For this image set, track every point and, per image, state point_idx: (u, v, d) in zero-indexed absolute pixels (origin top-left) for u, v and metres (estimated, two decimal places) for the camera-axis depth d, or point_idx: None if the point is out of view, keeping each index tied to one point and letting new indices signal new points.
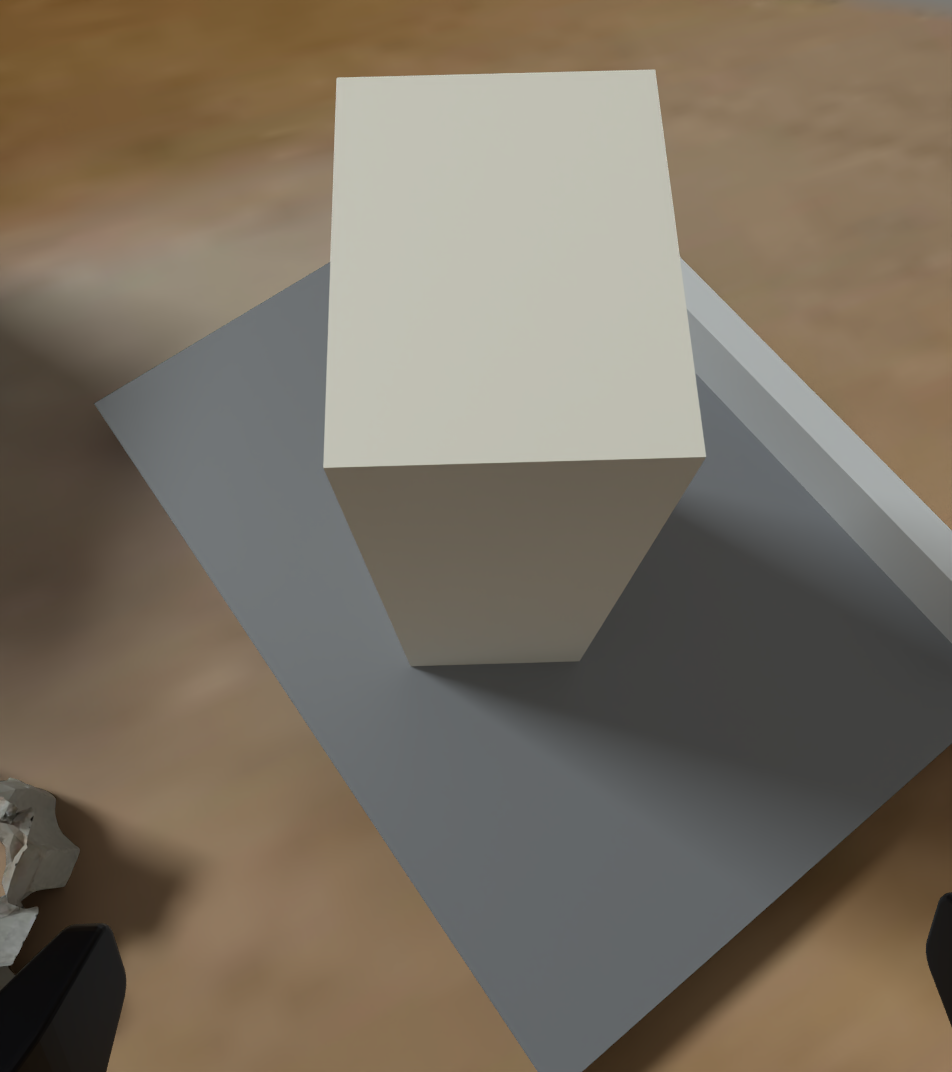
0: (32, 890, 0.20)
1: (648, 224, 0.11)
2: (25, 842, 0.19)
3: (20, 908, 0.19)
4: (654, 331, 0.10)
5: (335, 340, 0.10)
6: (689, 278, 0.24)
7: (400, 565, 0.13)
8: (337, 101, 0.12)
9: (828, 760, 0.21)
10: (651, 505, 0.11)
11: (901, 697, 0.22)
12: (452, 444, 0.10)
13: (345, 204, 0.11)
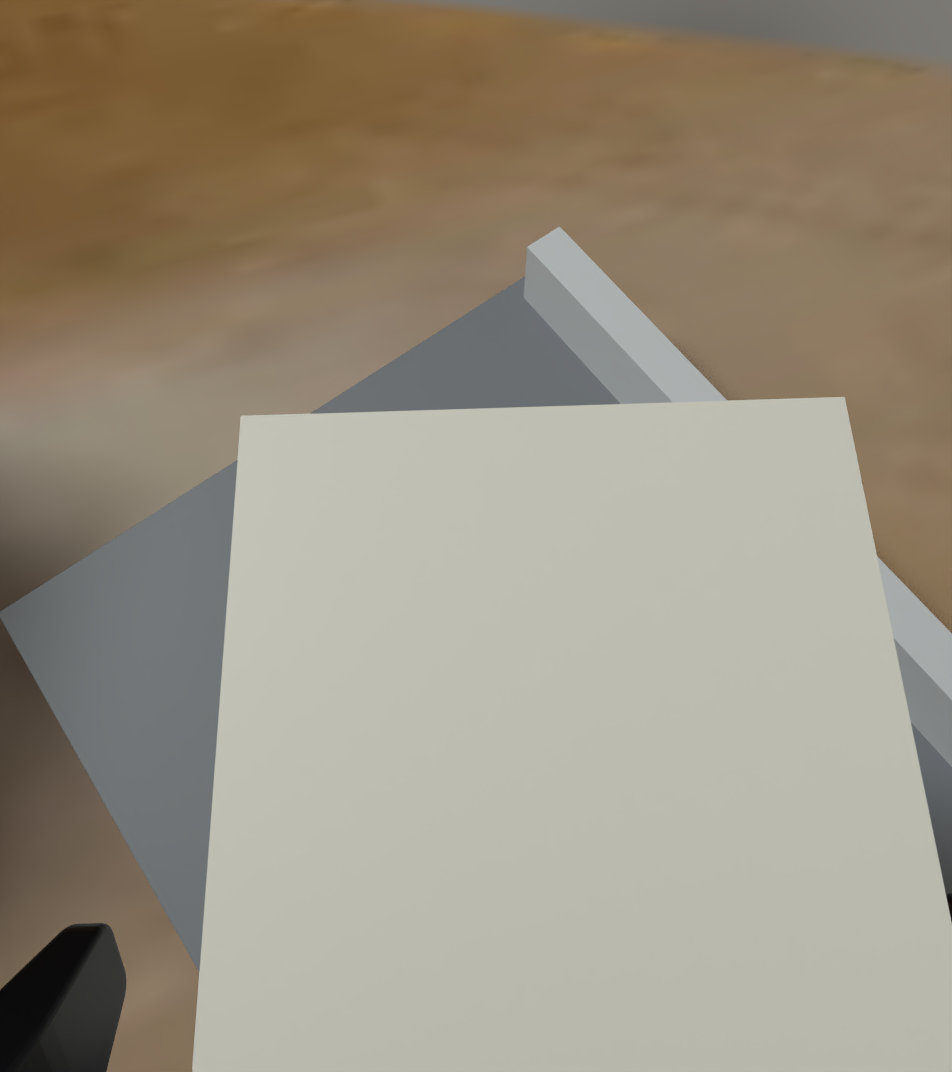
0: None
1: (863, 766, 0.05)
2: None
3: None
4: (903, 1062, 0.05)
5: None
6: None
7: None
8: (239, 470, 0.06)
9: None
10: None
11: None
12: None
13: (246, 716, 0.05)
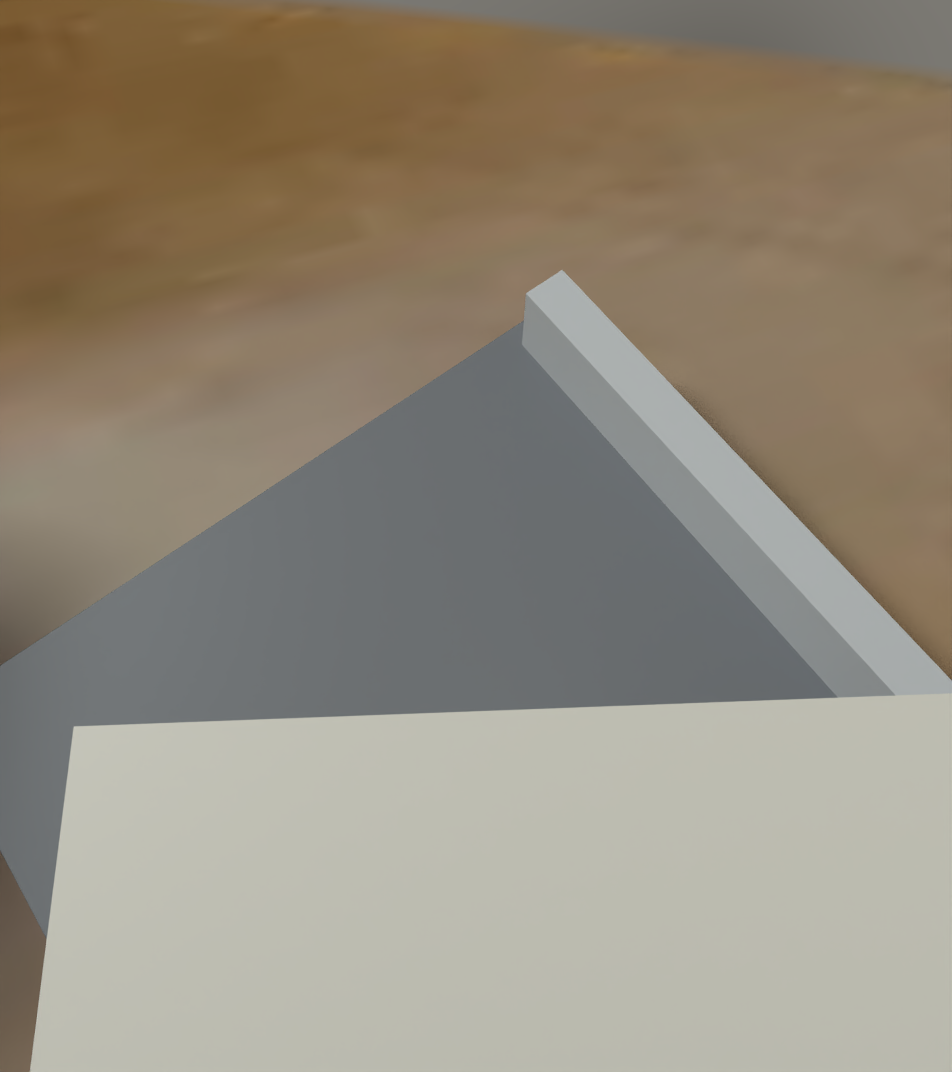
0: None
1: None
2: None
3: None
4: None
5: None
6: (800, 540, 0.16)
7: None
8: (65, 824, 0.04)
9: None
10: None
11: None
12: None
13: None
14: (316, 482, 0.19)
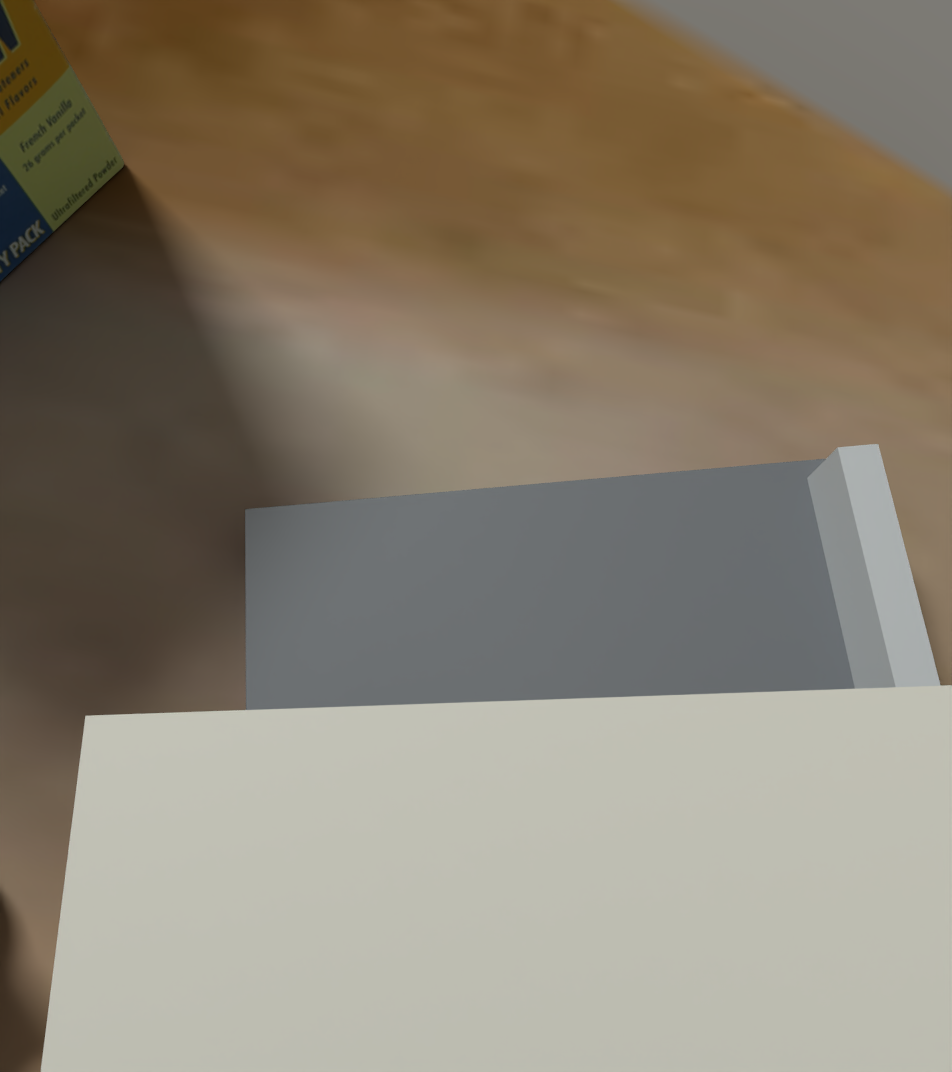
0: None
1: None
2: None
3: None
4: None
5: None
6: None
7: None
8: (77, 811, 0.04)
9: None
10: None
11: None
12: None
13: None
14: (589, 497, 0.22)
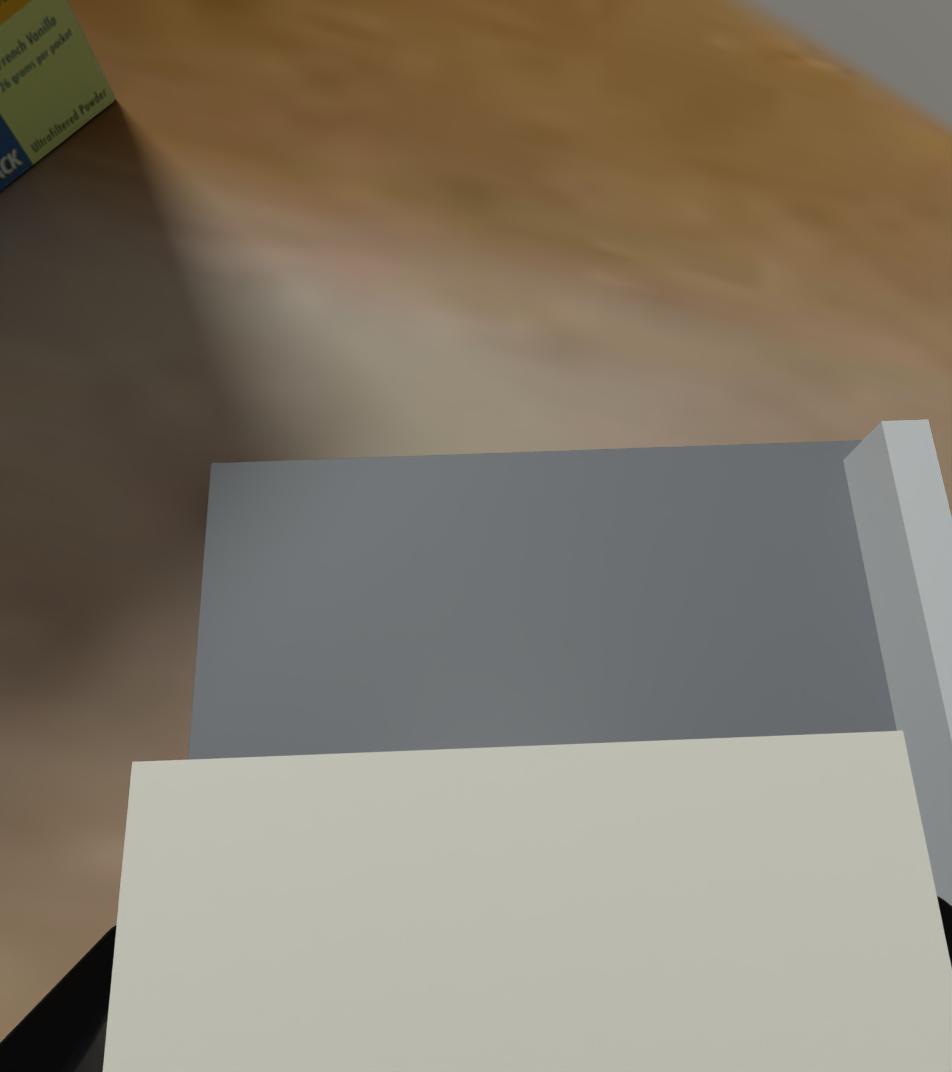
0: None
1: None
2: None
3: None
4: None
5: None
6: None
7: None
8: (127, 844, 0.05)
9: None
10: None
11: None
12: None
13: None
14: (596, 469, 0.20)
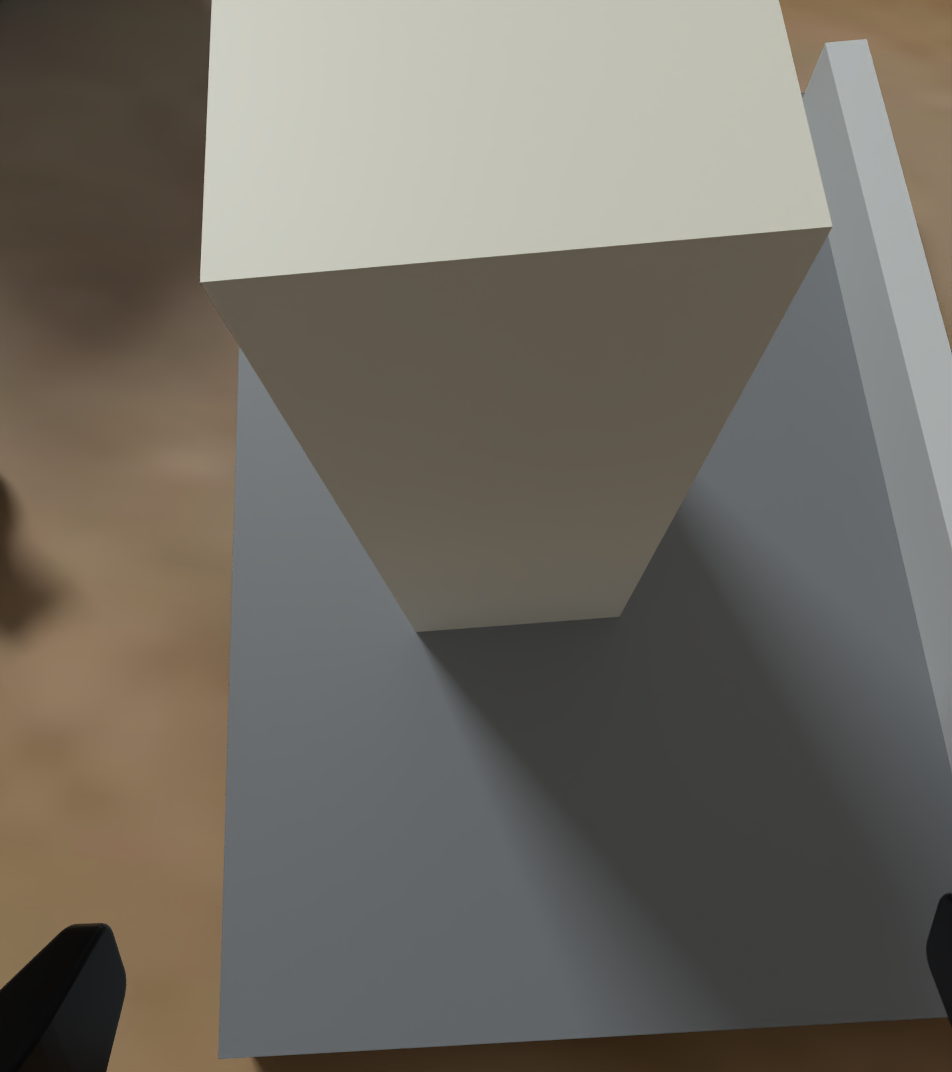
0: None
1: None
2: None
3: None
4: (730, 44, 0.06)
5: (220, 93, 0.06)
6: (927, 310, 0.18)
7: (369, 479, 0.10)
8: None
9: (737, 936, 0.16)
10: (730, 346, 0.07)
11: (875, 927, 0.16)
12: (409, 235, 0.06)
13: None
14: None
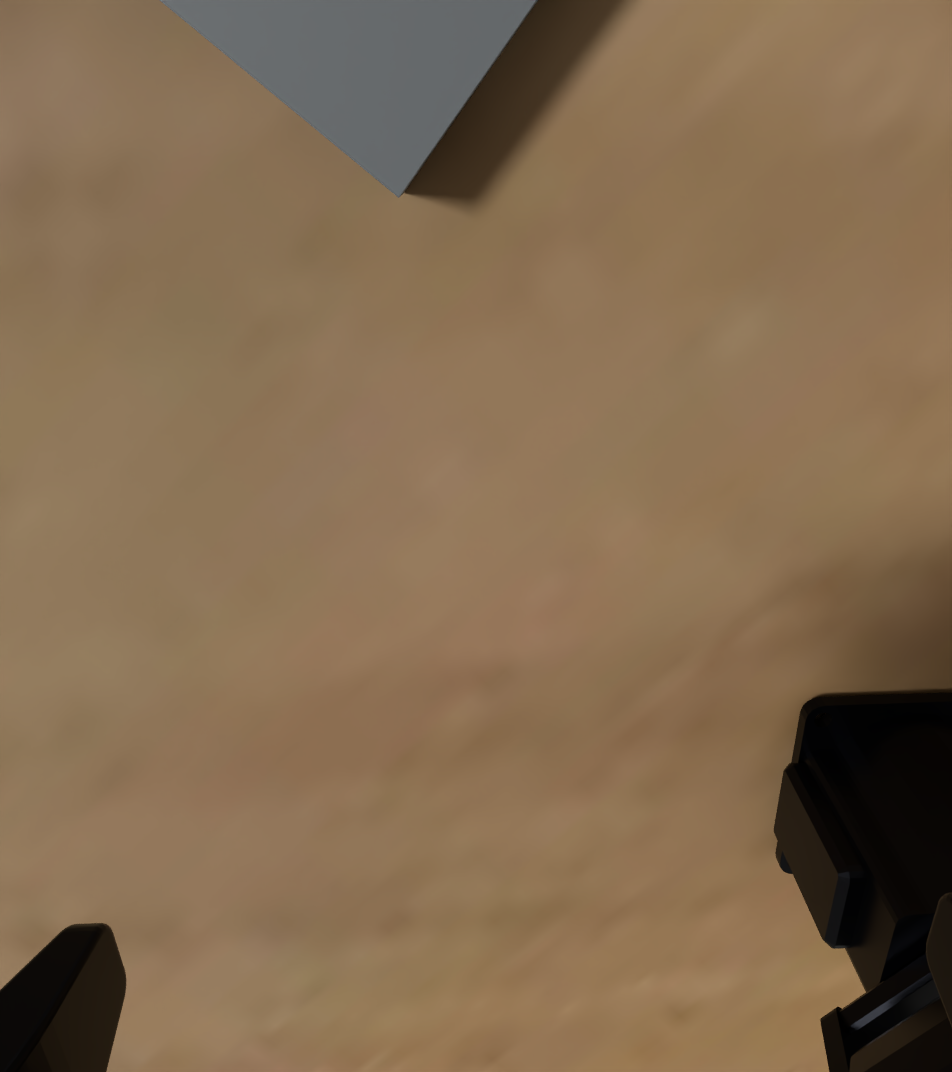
0: None
1: None
2: None
3: None
4: None
5: None
6: None
7: None
8: None
9: None
10: None
11: None
12: None
13: None
14: None
